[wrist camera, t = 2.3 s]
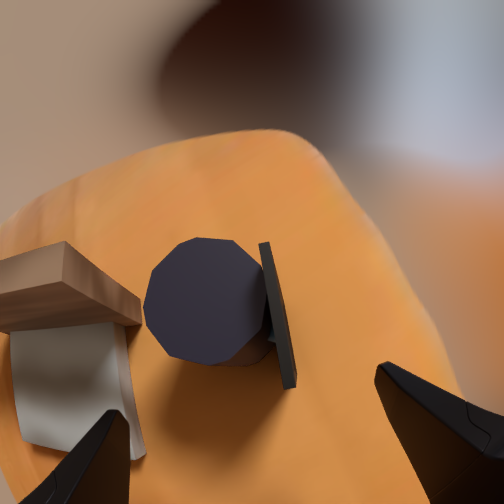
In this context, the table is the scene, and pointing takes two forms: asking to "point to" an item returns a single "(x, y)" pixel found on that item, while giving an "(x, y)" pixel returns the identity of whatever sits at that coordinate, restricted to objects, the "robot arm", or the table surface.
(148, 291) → the dark grey mug
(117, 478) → the robot arm
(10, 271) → the wall board
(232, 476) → the table surface
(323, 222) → the table surface
